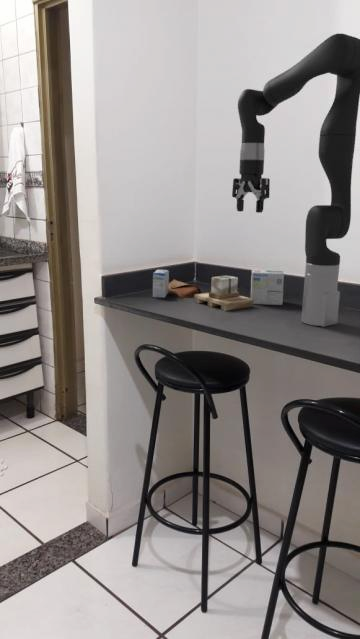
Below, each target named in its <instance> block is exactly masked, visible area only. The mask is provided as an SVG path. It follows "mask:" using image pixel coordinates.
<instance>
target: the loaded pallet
mask: <svg viewBox="0 0 360 639" xmlns="http://www.w3.org/2000/svg"><path fill="white" fill-rule="evenodd" d="M238 280H239V278H238V277H237V276H233V275H219V276H212V277H211V285H210V286H211V287H210V292H208V293H209V297H210V298H214V299H218V300H221V299H227V298H234V297H239V295H240V292H239V291H238V282H239V281H238Z"/></svg>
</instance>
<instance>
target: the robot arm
mask: <svg viewBox="0 0 360 639" xmlns="http://www.w3.org/2000/svg"><path fill="white" fill-rule="evenodd" d="M325 74H331V75H335V76H336V87H335V93H334V100H333V101H332V105H331V107H330V108H329V110H328V113H327V114H326V116H325V118H324V120H323V123H322V124H321V126H320V127H321V128H320V132H319V138H318V139H319V140H318V158H319V159H318V160H319V161H320V164H321V167H322V170H323V171H324V174H325V175H326V177H327V180H328V184H329V185H330V186H329V187H330V191H331V192H330V193H331V194H330V195H331V198H330V199H331V200H330V204H327V205H326V204H322V205H321V204H320V205H314V206H311V207H310V209H309V210H308V211H307V214H306V219H305V233H304V234H305V237H304V239H305V240H304V252H305V259H306V260H305V268H304V269H305V270H304V271H305V272H304V282H303V294H302V295H303V296H302V309H301V319H300V320H301V322H302V323H304V324H307V325H308V326H309V325H310V326H318V327H323V328H325V327H328V326H329V327H330V326H333V325H337V324H338V316H339V306H340V299H341V297H340V296H341V292H340V291H339V290H338V285H339V284H338V283H339V273H340V263H341V255H340V254H339V253H338V252H336V251H334V250H331V249H330V248H328V245H327V244H328V243H327V240H339V239H343V238H345V237H346V236H347V234H348V232H349V229H350V227H351V219H352V174H353V165H354V154H355V147H356V146H355V145H356V136H357V122H358V116H359V115H358V114H359V106H360V105H359V103H360V38H358V37H356V36H353V35H349V34H346V33H335V34H332V35H330V36H329V37H328V38H326V39H324V41H322V42H321V43H320V44H318V45H317V46H316V47H315V48H314V49H313V50H311V52H309V53H308V54H306V56H304V57H303V58H302V59H300V60H299V61H298V62H297V63H295V64H294V65H292V66H291V67H290V68H288V69H287V70H285V71H284V72H282V73H280V74H278V75H276V76H275V77H273V78H271V79H270V80H268V81H267V82H266V83H265V84H264V86H263V89H262V90H257V89H251V88H246V89H245V90H243V91H241V93H240V95H239V97H238V101H237V110H238V111H237V112H238V115H239V116H238V118H239V121H240V127H241V145H240V152H239V171H238V172H239V173H238V174H239V175H240V178H239V177H238V178H237V177H235V178H232V179H233V180H232V193H231V197H233V198H235V199H236V211H237V212H244V208H245V202H244V201H245V200H244V199H245V197H246V195H247V194H249V193H252V194H253V195H254V196H255V198H256V202H255V204H256V205H255V212H256V213H258V214H259V213H263V211H264V204H265V203H264V202H265V200H266V199H270V191H271V190H270V186H271V184H270V182H271V180H270V178H269V177H268V178H266V177H262V175H264V169H265V168H264V167H265V166H264V165H265V152H266V151H265V136H266V134H265V133H266V132H265V131H266V128H265V125H264V124H262V123H261V122H259V121H258V118H257V117H261V116H265V115H268V114H270V113H271V112H272V111H273V110H274V109H275V108H276V107H277V106H278V105H279V104H281V103H284V102H285V101H287V100H289V99H291V98H293V97H294V96H296V95H297V94H298V93H299V92H301V91H302V89H304V87H305V86H306V84H307V83H309V81H311V80H313V79H314V78H317V77H320V76H322V75H325Z"/></svg>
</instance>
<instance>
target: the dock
mask: <svg viewBox="0 0 360 639" xmlns="http://www.w3.org/2000/svg"><path fill="white" fill-rule="evenodd" d="M209 293H210V292H203V293H202V292H201V294H195V295H194V297H193V298H194V303H197V304H205V303H207V307H211V308H213V307H220V310H221V311H224V312H226V311H233V310H238V309H244V308H250V307H253V305H254V304H253V302H254V299H252V298H251V297H247V296H243V295H240V294H239V297H234V298H227V299H221V300H218V299H214V298H210V297H209Z"/></svg>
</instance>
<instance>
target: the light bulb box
mask: <svg viewBox="0 0 360 639" xmlns="http://www.w3.org/2000/svg"><path fill="white" fill-rule="evenodd" d="M284 279H285V273H284V271H283V270H269V269H268V270H267V269H265V270H264V269H262V270H261V269H259V270H258V269H252V270H251V278H250V298H252V299H254V302H253V304H252V305H273V306H275V305H276V306H282V305H283V300H284V298H283V297H284V283H285V282H284V281H285V280H284Z"/></svg>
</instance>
